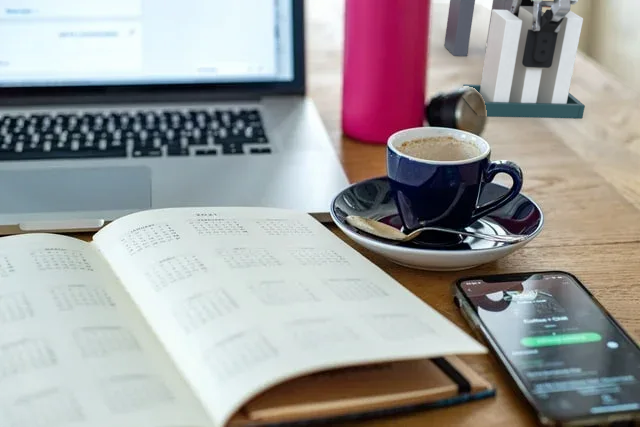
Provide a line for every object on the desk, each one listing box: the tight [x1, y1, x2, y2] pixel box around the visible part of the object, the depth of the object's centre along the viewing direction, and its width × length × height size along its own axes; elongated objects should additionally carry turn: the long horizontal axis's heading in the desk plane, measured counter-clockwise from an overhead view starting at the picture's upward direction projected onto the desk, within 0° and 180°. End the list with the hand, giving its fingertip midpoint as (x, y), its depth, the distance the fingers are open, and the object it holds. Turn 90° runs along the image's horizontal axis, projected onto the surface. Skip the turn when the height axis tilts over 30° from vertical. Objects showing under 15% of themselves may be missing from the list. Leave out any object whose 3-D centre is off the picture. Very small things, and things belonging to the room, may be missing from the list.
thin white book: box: [509, 6, 545, 103], centre depth 99 cm, size 2×5×11 cm, turn 7°
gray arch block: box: [443, 0, 513, 57], centre depth 123 cm, size 8×5×8 cm, turn 97°
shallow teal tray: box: [462, 83, 586, 120], centre depth 101 cm, size 12×7×2 cm, turn 97°
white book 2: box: [536, 10, 584, 104], centre depth 99 cm, size 2×5×11 cm, turn 7°
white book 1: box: [480, 9, 522, 102], centre depth 98 cm, size 2×5×10 cm, turn 8°
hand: (527, 57), depth 99 cm, fingers closed on thin white book, 5 cm apart
